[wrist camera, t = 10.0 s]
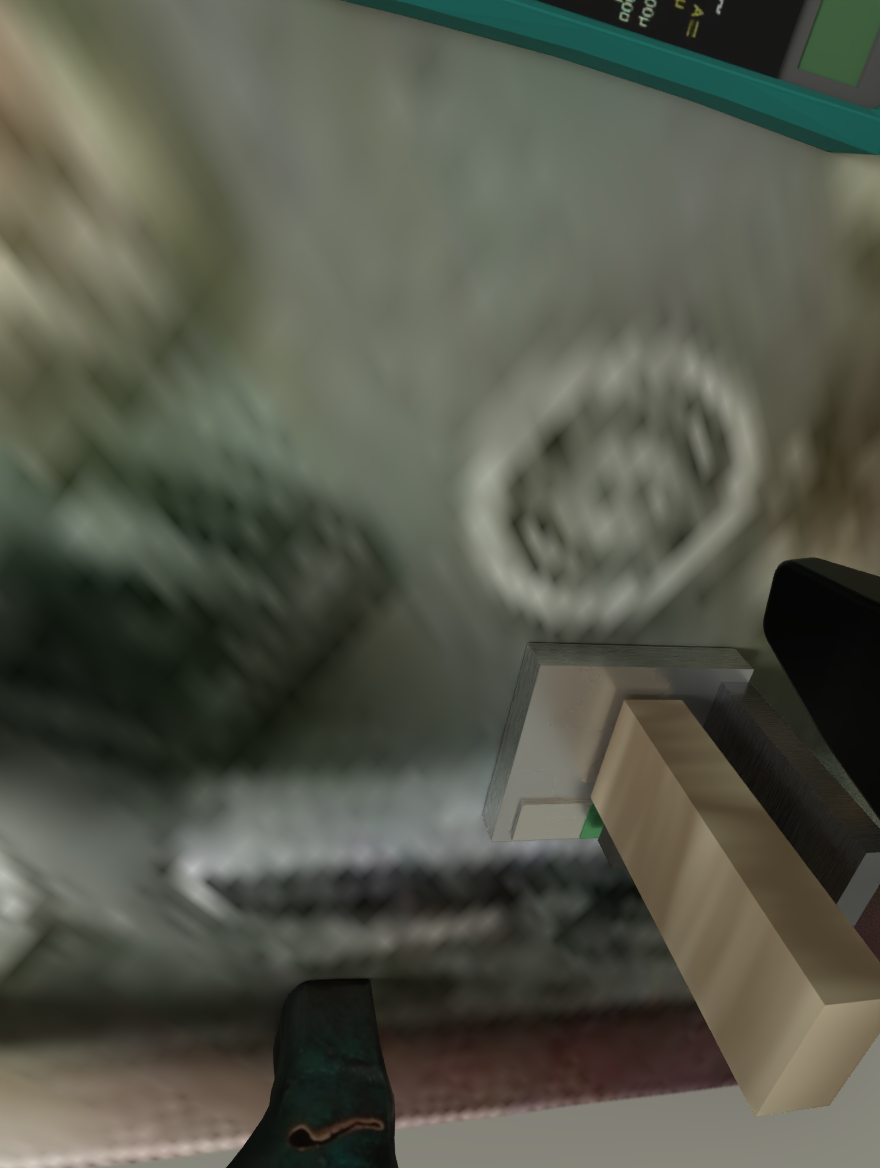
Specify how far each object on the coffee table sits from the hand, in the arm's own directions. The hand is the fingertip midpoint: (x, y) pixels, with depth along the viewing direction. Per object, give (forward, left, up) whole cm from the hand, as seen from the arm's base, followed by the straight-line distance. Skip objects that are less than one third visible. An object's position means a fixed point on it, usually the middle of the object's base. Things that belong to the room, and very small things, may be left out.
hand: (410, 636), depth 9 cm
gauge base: (+9, -13, -12) cm, 19 cm away
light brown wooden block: (+9, -14, -10) cm, 19 cm away
